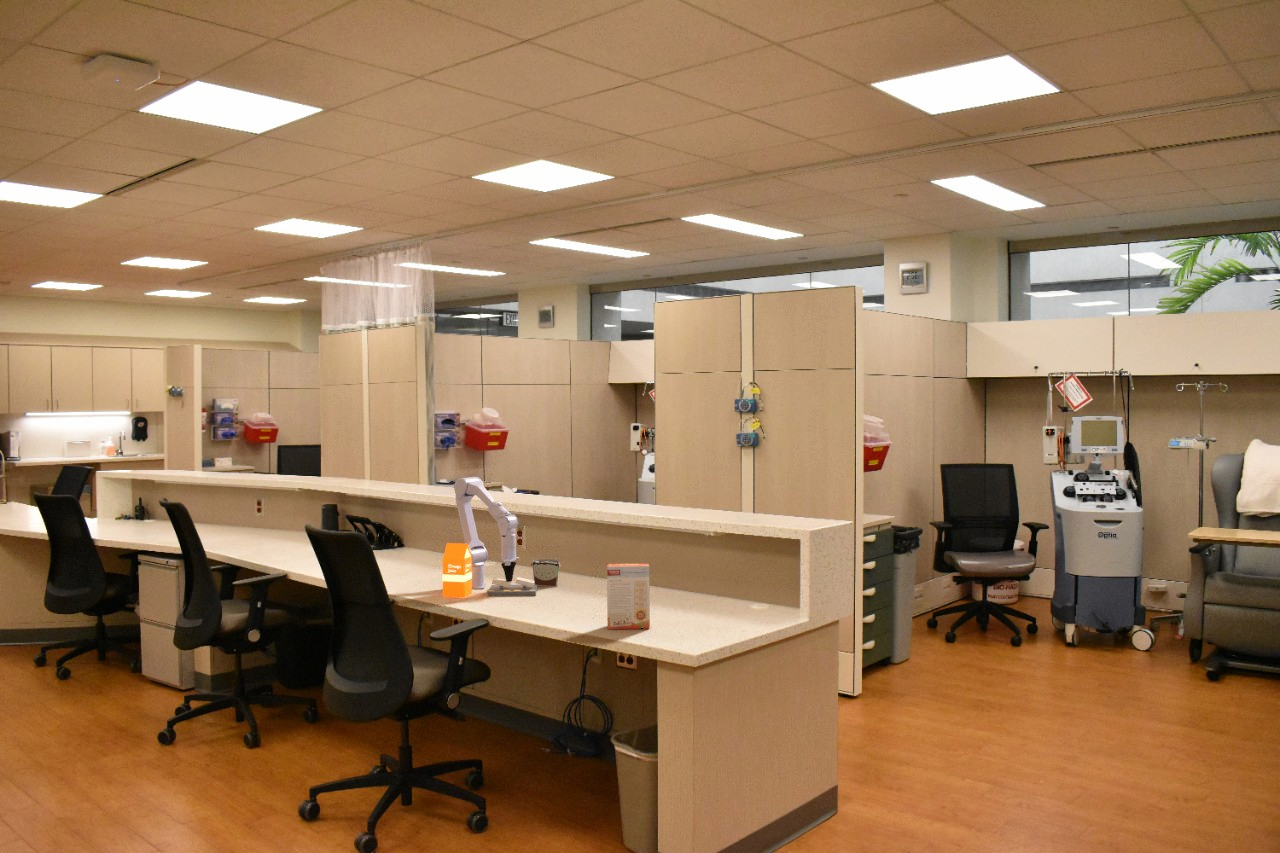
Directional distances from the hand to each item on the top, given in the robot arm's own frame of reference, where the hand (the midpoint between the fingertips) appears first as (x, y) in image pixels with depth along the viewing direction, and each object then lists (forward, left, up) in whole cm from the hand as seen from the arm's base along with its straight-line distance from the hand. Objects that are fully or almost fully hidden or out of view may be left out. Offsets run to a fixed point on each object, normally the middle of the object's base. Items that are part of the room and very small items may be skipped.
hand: (509, 581), depth 372 cm
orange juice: (-20, -4, -5) cm, 20 cm away
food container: (+14, +15, -5) cm, 22 cm away
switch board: (+1, 0, -4) cm, 5 cm away
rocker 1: (-3, 0, -1) cm, 3 cm away
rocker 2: (+6, 0, -1) cm, 6 cm away
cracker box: (+43, -59, -5) cm, 73 cm away
